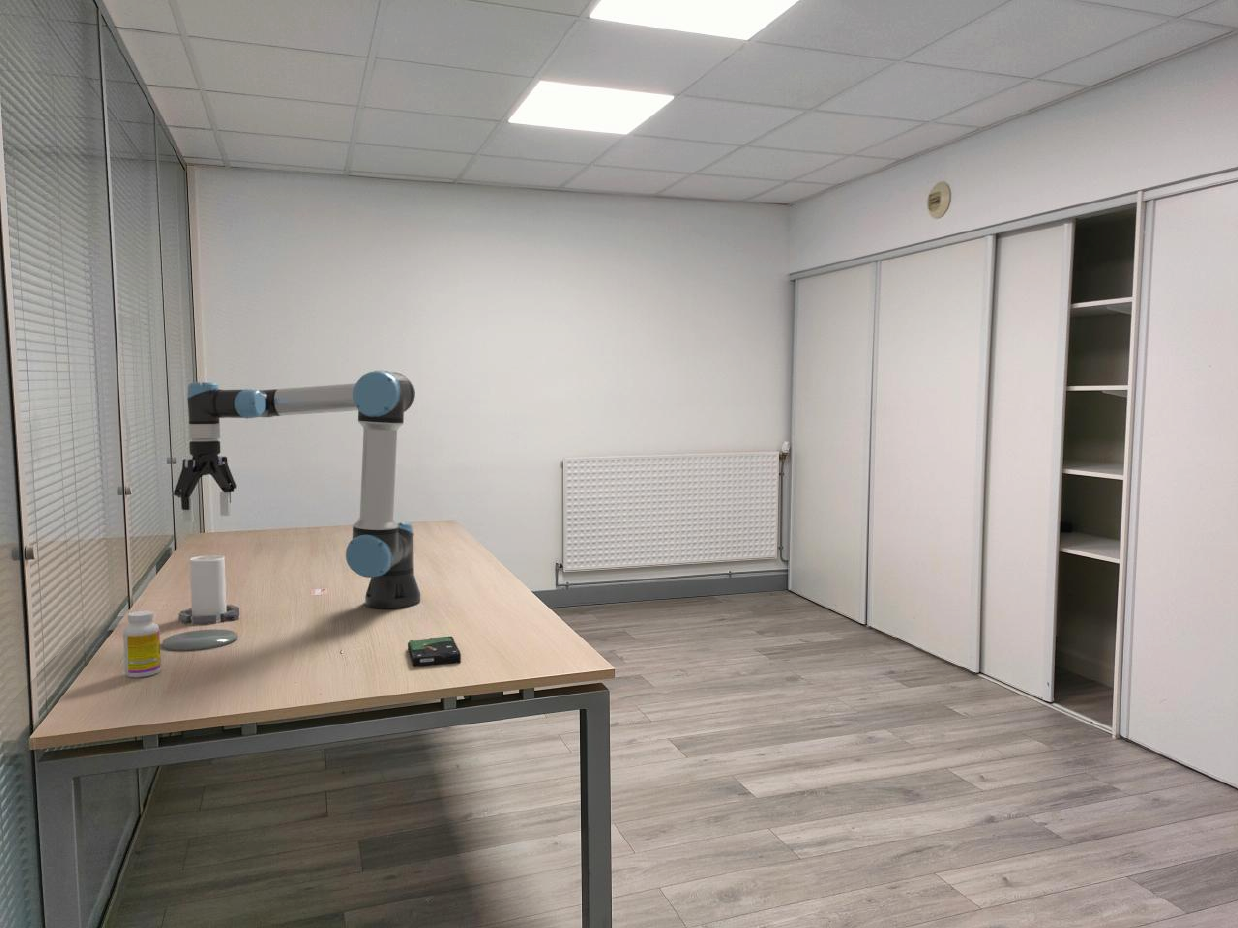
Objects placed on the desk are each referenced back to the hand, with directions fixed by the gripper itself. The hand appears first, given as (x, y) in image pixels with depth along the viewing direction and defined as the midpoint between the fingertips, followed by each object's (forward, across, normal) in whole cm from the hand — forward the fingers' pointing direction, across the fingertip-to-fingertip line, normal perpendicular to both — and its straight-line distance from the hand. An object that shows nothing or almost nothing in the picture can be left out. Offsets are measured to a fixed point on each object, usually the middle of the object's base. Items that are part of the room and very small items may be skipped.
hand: (207, 518), depth 238 cm
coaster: (+25, +26, +20) cm, 41 cm away
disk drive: (+26, +21, +79) cm, 86 cm away
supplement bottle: (+25, +50, +27) cm, 62 cm away
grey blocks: (+25, +6, +5) cm, 27 cm away
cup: (+25, +6, +5) cm, 27 cm away
